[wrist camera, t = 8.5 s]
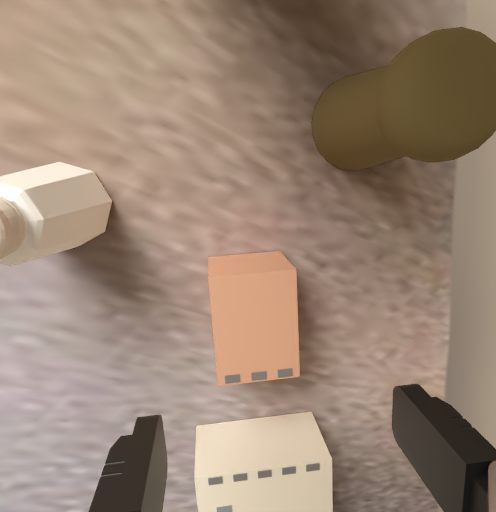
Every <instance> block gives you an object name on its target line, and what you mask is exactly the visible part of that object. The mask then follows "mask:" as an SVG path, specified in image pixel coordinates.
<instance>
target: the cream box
mask: <svg viewBox="0 0 496 512" xmlns="http://www.w3.org/2000/svg"><path fill="white" fill-rule="evenodd" d="M195 487H196V496H197V505H198V512H333V500H332V458H331V456H330V453H329V451H328V449H327V446H326V444H325V442H324V439H323V437H322V435H321V432H320V430H319V428H318V425H317V423H316V421H315V418H314V416H313V414H312V411H311V412H303V413H295V414H287V415H279V416H271V417H262V418H254V419H246V420H238V421H230V422H222V423H214V424H206V425H198V426H197V428H196V453H195Z"/></svg>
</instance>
